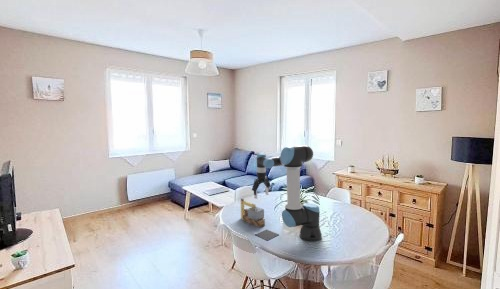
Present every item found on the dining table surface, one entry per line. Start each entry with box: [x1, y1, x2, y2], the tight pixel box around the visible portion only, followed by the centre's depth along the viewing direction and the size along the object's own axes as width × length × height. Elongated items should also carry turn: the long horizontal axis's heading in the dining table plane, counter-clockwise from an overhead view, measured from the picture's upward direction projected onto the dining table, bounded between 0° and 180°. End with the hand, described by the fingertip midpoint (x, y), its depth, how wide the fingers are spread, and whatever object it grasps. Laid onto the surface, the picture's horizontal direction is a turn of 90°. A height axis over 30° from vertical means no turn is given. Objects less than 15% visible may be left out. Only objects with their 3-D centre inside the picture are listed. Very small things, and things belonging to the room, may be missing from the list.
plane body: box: [241, 208, 266, 228], centre depth 210 cm, size 20×5×9 cm, turn 44°
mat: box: [254, 229, 279, 241], centre depth 189 cm, size 12×12×1 cm
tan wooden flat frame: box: [240, 198, 257, 220], centre depth 214 cm, size 16×3×16 cm, turn 44°
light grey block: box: [247, 206, 265, 221], centre depth 208 cm, size 10×8×7 cm
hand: (261, 196), depth 224 cm, fingers open, 13 cm apart
